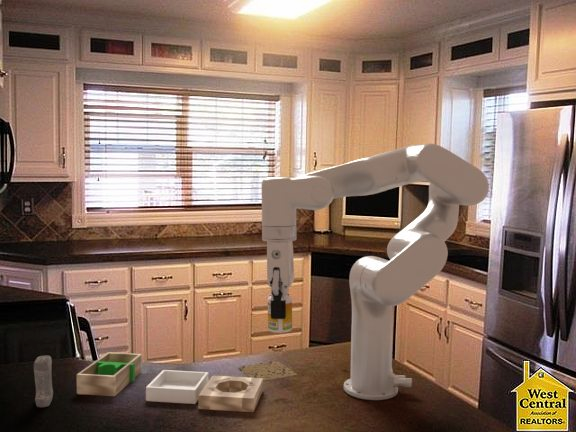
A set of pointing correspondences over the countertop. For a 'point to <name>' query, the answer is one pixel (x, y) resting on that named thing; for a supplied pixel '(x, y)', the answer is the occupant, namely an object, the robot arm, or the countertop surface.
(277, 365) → the speckled tile
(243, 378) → the plate
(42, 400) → the stone
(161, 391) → the tray
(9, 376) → the countertop surface
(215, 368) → the countertop surface
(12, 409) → the countertop surface
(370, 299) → the robot arm
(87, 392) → the parts corral
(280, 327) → the supplement bottle
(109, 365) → the pipe clamp
